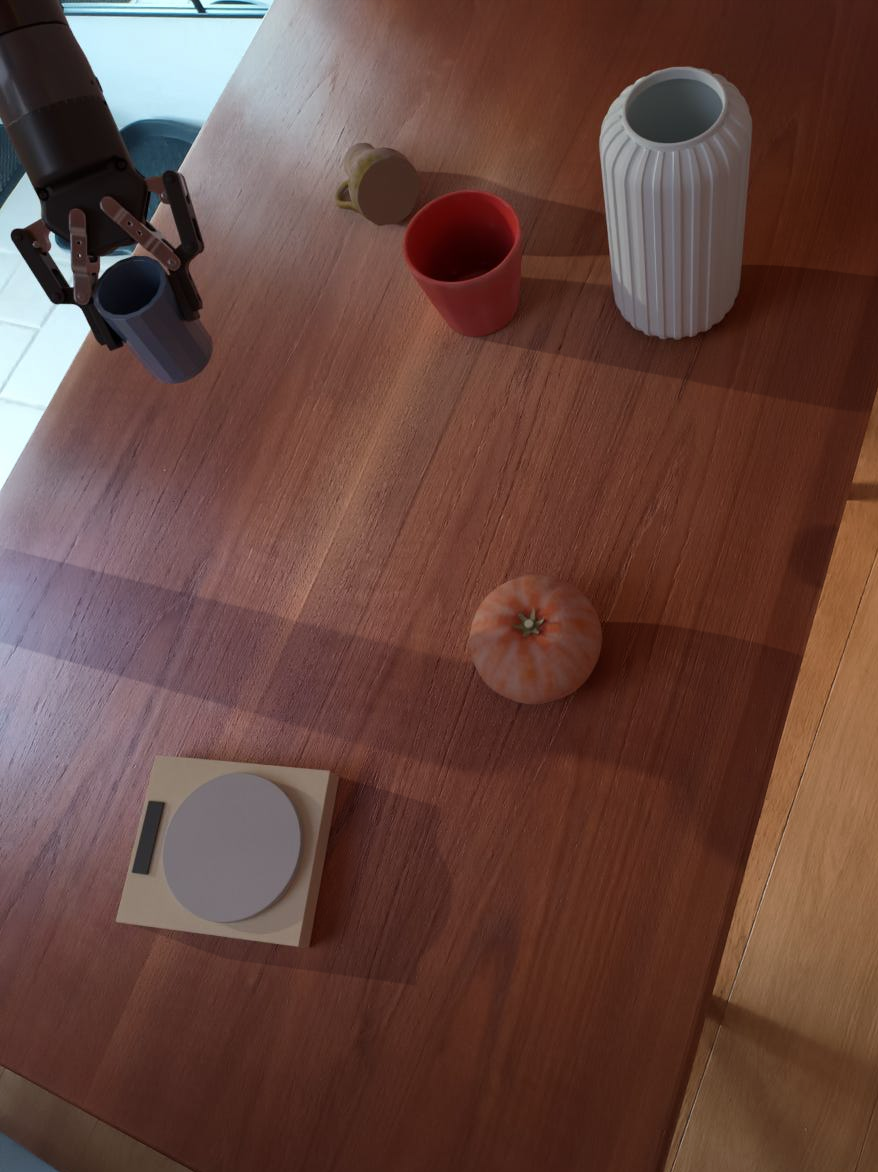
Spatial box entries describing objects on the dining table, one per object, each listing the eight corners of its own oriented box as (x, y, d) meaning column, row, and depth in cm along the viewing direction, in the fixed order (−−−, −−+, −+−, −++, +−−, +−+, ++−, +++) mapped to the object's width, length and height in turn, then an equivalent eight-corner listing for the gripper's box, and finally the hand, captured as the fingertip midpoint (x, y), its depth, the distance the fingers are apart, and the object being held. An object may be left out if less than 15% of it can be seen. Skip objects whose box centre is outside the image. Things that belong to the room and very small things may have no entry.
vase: (757, 326, 91) (779, 129, 70) (639, 370, 92) (626, 188, 71) (711, 236, 95) (719, 26, 75) (598, 279, 96) (576, 82, 76)
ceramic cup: (134, 368, 84) (78, 303, 77) (175, 315, 86) (125, 245, 78) (184, 394, 82) (133, 330, 75) (226, 339, 84) (180, 270, 76)
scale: (130, 924, 83) (110, 921, 80) (168, 760, 87) (150, 752, 84) (309, 948, 79) (294, 946, 76) (339, 776, 84) (327, 768, 81)
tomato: (617, 700, 81) (611, 670, 74) (490, 728, 82) (471, 700, 75) (590, 583, 85) (582, 543, 78) (469, 611, 86) (450, 574, 79)
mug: (384, 150, 108) (397, 99, 98) (416, 235, 108) (433, 193, 98) (319, 168, 106) (326, 117, 96) (353, 254, 106) (363, 213, 97)
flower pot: (516, 359, 95) (499, 291, 86) (412, 341, 98) (385, 274, 89) (549, 270, 98) (536, 195, 89) (447, 255, 101) (424, 182, 92)
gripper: (-57, 140, 70) (58, 371, 76) (130, 66, 69) (231, 306, 75) (-15, 149, 77) (88, 359, 83) (156, 82, 76) (246, 300, 82)
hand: (155, 333), depth 79 cm, fingers closed on ceramic cup, 6 cm apart
